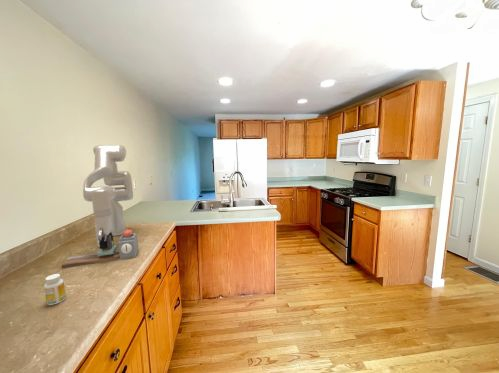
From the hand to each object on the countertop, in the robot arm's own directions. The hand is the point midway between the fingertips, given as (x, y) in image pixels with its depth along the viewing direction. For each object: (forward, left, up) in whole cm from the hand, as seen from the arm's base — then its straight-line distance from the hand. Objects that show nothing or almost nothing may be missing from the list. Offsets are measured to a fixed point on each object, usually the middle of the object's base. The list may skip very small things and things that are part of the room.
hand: (106, 244), depth 112 cm
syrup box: (-18, -6, -7) cm, 20 cm away
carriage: (0, 0, -4) cm, 4 cm away
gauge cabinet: (0, +10, -7) cm, 12 cm away
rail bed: (0, -6, -7) cm, 9 cm away
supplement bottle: (+33, -8, -7) cm, 35 cm away
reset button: (0, +10, +4) cm, 11 cm away
